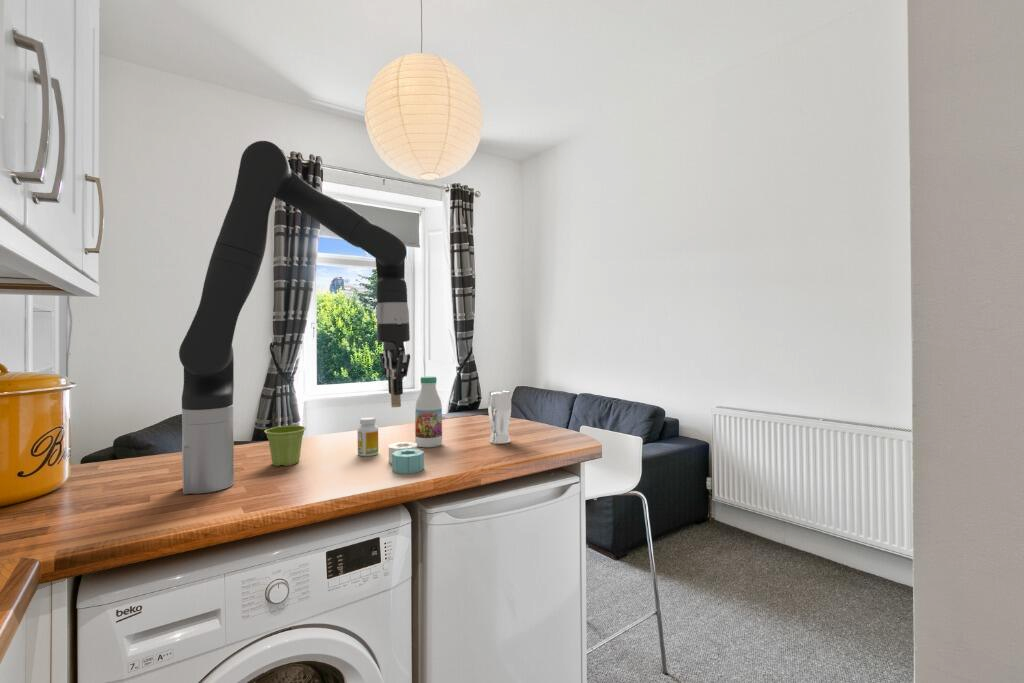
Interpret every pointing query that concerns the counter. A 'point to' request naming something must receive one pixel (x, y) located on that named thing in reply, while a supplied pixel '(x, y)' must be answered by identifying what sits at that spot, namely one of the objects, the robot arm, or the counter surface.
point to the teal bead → (408, 461)
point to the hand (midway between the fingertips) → (395, 393)
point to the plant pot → (285, 444)
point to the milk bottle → (428, 415)
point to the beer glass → (499, 416)
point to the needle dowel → (394, 398)
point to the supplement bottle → (367, 437)
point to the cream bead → (400, 448)
